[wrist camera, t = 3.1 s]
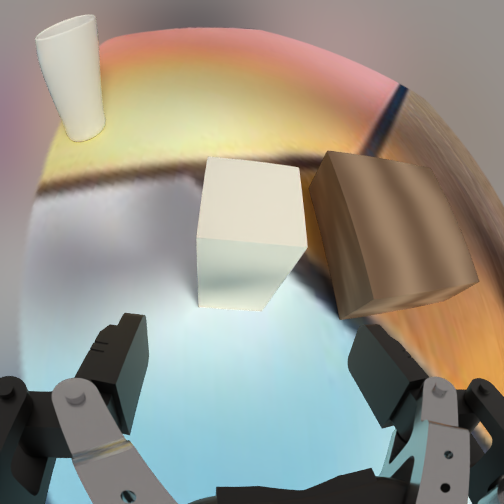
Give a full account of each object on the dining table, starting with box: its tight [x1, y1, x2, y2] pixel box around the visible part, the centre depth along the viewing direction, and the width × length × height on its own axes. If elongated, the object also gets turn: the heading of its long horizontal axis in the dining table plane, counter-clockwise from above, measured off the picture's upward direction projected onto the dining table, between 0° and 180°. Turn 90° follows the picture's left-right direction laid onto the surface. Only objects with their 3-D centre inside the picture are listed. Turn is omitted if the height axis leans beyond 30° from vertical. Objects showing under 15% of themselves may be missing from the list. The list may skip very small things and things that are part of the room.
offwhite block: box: [196, 157, 307, 311], centre depth 19 cm, size 5×5×11 cm
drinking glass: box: [35, 15, 106, 142], centre depth 22 cm, size 7×7×15 cm
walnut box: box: [309, 151, 479, 320], centre depth 25 cm, size 14×14×6 cm
